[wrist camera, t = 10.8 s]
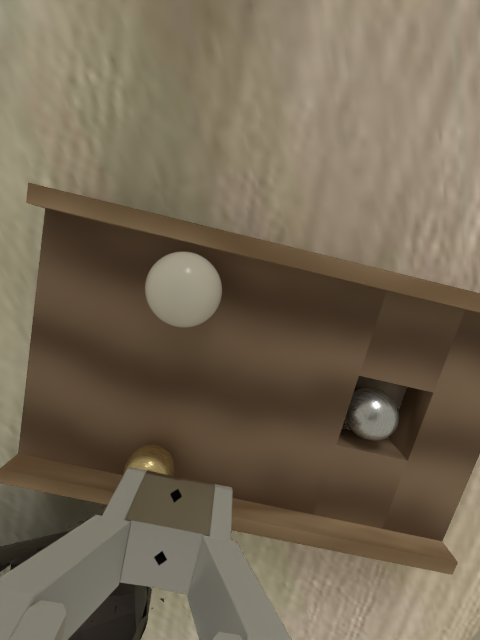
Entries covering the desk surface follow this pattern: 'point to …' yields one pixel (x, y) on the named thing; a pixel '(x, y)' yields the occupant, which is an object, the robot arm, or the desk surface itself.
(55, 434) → the board
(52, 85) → the desk surface
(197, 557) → the robot arm
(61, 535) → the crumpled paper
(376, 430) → the steel ball
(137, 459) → the brass ball
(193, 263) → the cream ball
